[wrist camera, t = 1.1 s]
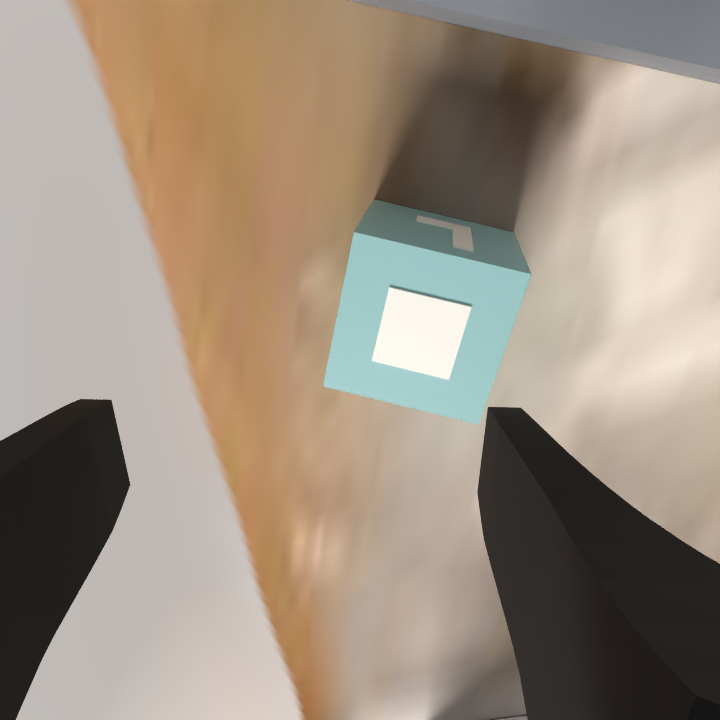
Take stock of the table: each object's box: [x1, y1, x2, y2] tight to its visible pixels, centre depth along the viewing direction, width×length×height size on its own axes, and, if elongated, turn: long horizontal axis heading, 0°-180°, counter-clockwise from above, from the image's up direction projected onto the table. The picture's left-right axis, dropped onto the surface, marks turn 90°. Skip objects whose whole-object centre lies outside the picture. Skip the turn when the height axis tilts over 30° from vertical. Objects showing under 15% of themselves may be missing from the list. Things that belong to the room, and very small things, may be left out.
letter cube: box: [323, 199, 531, 425], centre depth 19 cm, size 5×5×5 cm
